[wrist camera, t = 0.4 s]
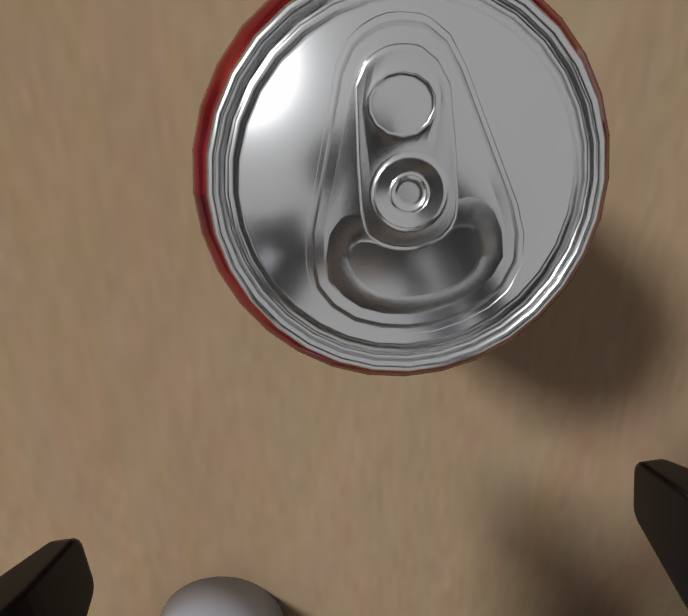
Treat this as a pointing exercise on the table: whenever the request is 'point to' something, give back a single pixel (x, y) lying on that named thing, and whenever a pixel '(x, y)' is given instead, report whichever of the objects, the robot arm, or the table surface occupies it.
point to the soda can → (400, 175)
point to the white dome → (222, 599)
